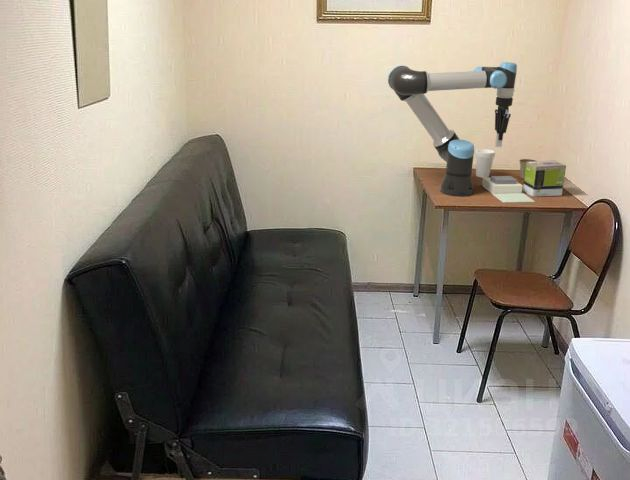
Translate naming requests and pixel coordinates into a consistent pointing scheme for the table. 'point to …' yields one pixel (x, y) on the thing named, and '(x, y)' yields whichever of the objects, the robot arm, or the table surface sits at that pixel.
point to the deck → (501, 187)
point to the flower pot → (523, 166)
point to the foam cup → (484, 162)
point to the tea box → (544, 178)
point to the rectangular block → (503, 180)
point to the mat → (513, 198)
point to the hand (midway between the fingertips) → (498, 146)
